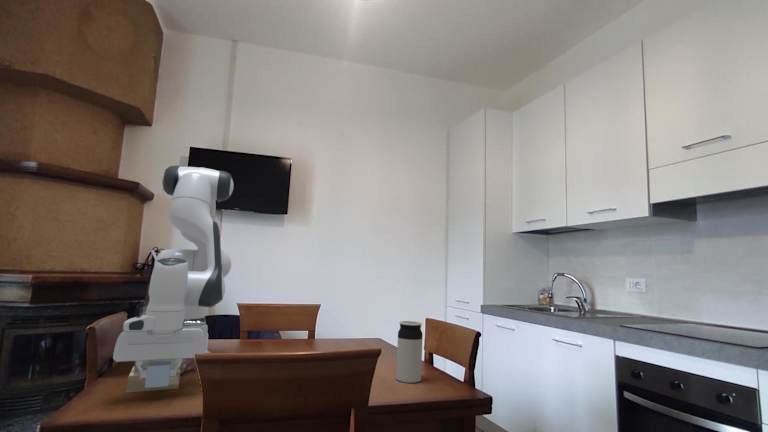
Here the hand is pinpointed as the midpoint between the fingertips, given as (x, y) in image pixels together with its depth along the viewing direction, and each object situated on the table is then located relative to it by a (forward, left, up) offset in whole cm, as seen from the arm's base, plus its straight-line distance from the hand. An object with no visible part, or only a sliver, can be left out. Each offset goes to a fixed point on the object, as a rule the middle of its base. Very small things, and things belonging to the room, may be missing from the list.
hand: (158, 377), depth 99 cm
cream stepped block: (-13, -1, -5) cm, 14 cm away
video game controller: (-24, +6, -5) cm, 26 cm away
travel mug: (+4, +71, -5) cm, 71 cm away
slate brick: (0, 0, -2) cm, 2 cm away
